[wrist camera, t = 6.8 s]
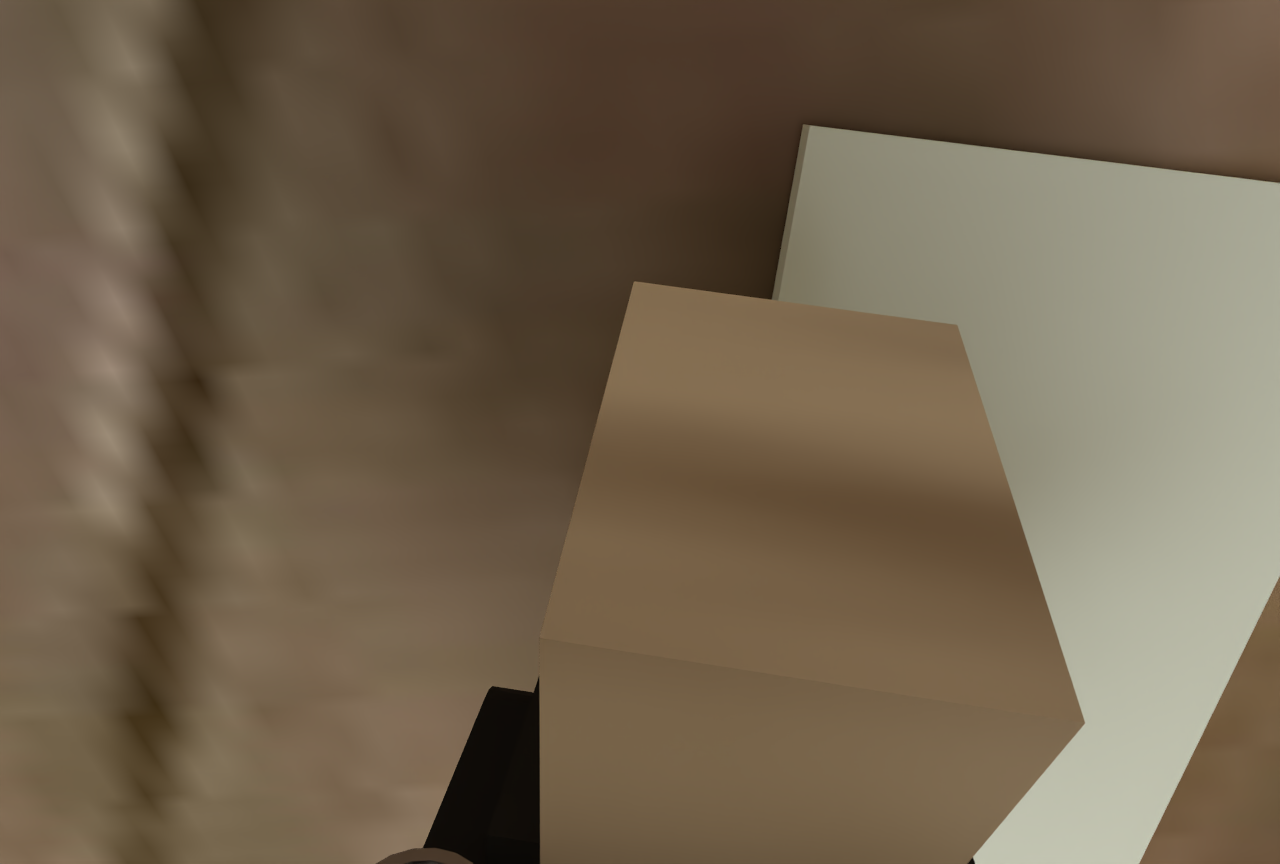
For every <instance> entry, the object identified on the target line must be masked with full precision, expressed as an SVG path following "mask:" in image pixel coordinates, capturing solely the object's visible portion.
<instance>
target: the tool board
mask: <svg viewBox="0 0 1280 864" xmlns="http://www.w3.org/2000/svg"><path fill="white" fill-rule="evenodd" d="M772 300H777V301H784V302H791V303H799V304H806V305H814V306H821V307H828V308H836V309H843V310H851V311H858V312H865V313H873V314H880V315H888V316H895V317H902V318H910V319H917V320H925V321H932V322H939V323H947V324H954V325H958V328H959V331H960V335H961V338H962V341H963V344H964V347H965V350H966V353H967V356H968V359H969V363H970V366H971V369H972V372H973V375H974V378H975V381H976V384H977V387H978V391H979V394H980V397H981V400H982V403H983V406H984V409H985V412H986V416H987V419H988V422H989V425H990V428H991V431H992V434H993V437H994V440H995V444H996V447H997V450H998V453H999V456H1000V459H1001V462H1002V465H1003V468H1004V472H1005V475H1006V478H1007V481H1008V484H1009V487H1010V490H1011V493H1012V496H1013V500H1014V503H1015V506H1016V509H1017V512H1018V515H1019V518H1020V521H1021V524H1022V528H1023V531H1024V534H1025V537H1026V540H1027V543H1028V546H1029V549H1030V552H1031V556H1032V559H1033V562H1034V565H1035V568H1036V571H1037V574H1038V577H1039V580H1040V584H1041V587H1042V590H1043V593H1044V596H1045V599H1046V602H1047V605H1048V608H1049V612H1050V615H1051V618H1052V621H1053V624H1054V627H1055V630H1056V633H1057V636H1058V640H1059V643H1060V646H1061V649H1062V652H1063V655H1064V658H1065V661H1066V664H1067V668H1068V671H1069V674H1070V677H1071V680H1072V683H1073V686H1074V689H1075V692H1076V696H1077V699H1078V702H1079V705H1080V708H1081V711H1082V714H1083V717H1084V720H1085V724H1084V725H1083V727H1082V728H1081V729H1080V730H1079V731H1078V732H1077V734H1076V735H1075V736H1074V737H1073V738H1072V740H1071V741H1070V742H1069V743H1068V744H1067V746H1066V747H1065V748H1064V749H1063V750H1062V752H1061V753H1060V754H1059V755H1058V756H1057V757H1056V759H1055V760H1054V761H1053V762H1052V763H1051V765H1050V766H1049V767H1048V768H1047V769H1046V771H1045V772H1044V773H1043V774H1042V775H1041V777H1040V778H1039V779H1038V780H1037V781H1036V783H1035V784H1034V785H1033V786H1032V787H1031V788H1030V790H1029V791H1028V792H1027V793H1026V794H1025V796H1024V797H1023V798H1022V799H1021V800H1020V802H1019V803H1018V804H1017V805H1016V806H1015V808H1014V809H1013V810H1012V811H1011V812H1010V813H1009V815H1008V816H1007V817H1006V818H1005V819H1004V821H1003V822H1002V823H1001V824H1000V825H999V827H998V828H997V829H996V830H995V831H994V833H993V834H992V835H991V836H990V837H989V838H988V840H987V841H986V842H985V843H984V844H983V846H982V847H981V848H980V849H979V850H978V852H977V853H976V854H975V855H974V856H973V859H974V861H975V864H1139V863H1140V860H1141V858H1142V856H1143V854H1144V852H1145V850H1146V848H1147V846H1148V844H1149V842H1150V840H1151V838H1152V836H1153V834H1154V832H1155V830H1156V828H1157V826H1158V824H1159V822H1160V820H1161V818H1162V816H1163V813H1164V811H1165V809H1166V807H1167V805H1168V803H1169V801H1170V799H1171V797H1172V795H1173V793H1174V791H1175V789H1176V787H1177V785H1178V783H1179V781H1180V779H1181V777H1182V775H1183V773H1184V771H1185V768H1186V766H1187V764H1188V762H1189V760H1190V758H1191V756H1192V754H1193V752H1194V750H1195V748H1196V746H1197V744H1198V742H1199V740H1200V738H1201V736H1202V734H1203V732H1204V730H1205V728H1206V726H1207V724H1208V721H1209V719H1210V717H1211V715H1212V713H1213V711H1214V709H1215V707H1216V705H1217V703H1218V701H1219V699H1220V697H1221V695H1222V693H1223V691H1224V689H1225V687H1226V685H1227V683H1228V681H1229V679H1230V676H1231V674H1232V672H1233V670H1234V668H1235V666H1236V664H1237V662H1238V660H1239V658H1240V656H1241V654H1242V652H1243V650H1244V648H1245V646H1246V644H1247V642H1248V640H1249V638H1250V636H1251V634H1252V631H1253V629H1254V627H1255V625H1256V623H1257V621H1258V619H1259V617H1260V615H1261V613H1262V611H1263V609H1264V607H1265V605H1266V603H1267V601H1268V599H1269V597H1270V595H1271V593H1272V591H1273V589H1274V587H1275V584H1276V582H1277V580H1278V578H1279V576H1280V183H1278V182H1270V181H1262V180H1254V179H1245V178H1237V177H1229V176H1221V175H1213V174H1205V173H1196V172H1188V171H1180V170H1172V169H1164V168H1156V167H1148V166H1139V165H1131V164H1123V163H1115V162H1107V161H1099V160H1090V159H1082V158H1074V157H1066V156H1058V155H1050V154H1042V153H1033V152H1025V151H1017V150H1009V149H1001V148H993V147H984V146H976V145H968V144H960V143H952V142H944V141H936V140H927V139H919V138H911V137H903V136H895V135H887V134H878V133H870V132H862V131H854V130H846V129H838V128H829V127H821V126H813V125H805V124H803V128H802V133H801V139H800V144H799V150H798V156H797V161H796V167H795V172H794V178H793V184H792V189H791V195H790V201H789V206H788V212H787V217H786V223H785V229H784V234H783V240H782V245H781V251H780V257H779V262H778V268H777V273H776V279H775V285H774V290H773V296H772Z"/></svg>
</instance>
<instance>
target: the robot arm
mask: <svg viewBox="0 0 1280 864" xmlns="http://www.w3.org/2000/svg"><path fill="white" fill-rule="evenodd" d="M376 864H540V693H539V678H538V681H537V684H536V687H535V690H534V693H532V692H526V691H520V690H513V689H507V688H501V687H494V686H492V687H491V688H490V689H489V691H488V693H487V695H486V697H485V699H484V701H483V704H482V706H481V709H480V711H479V714H478V716H477V718H476V721H475V723H474V726H473V728H472V731H471V733H470V735H469V738H468V740H467V743H466V745H465V747H464V750H463V752H462V755H461V757H460V760H459V762H458V764H457V767H456V769H455V772H454V774H453V777H452V779H451V781H450V784H449V786H448V789H447V791H446V794H445V796H444V798H443V801H442V803H441V806H440V808H439V811H438V813H437V815H436V818H435V820H434V823H433V825H432V828H431V830H430V832H429V835H428V837H427V840H426V842H425V844H424V847H423V848H415V849H410V850H407V851H403V852H400V853H396V854H393V855H390V856H388V857H387V858H385V859H383V860H381V861H380V862H378V863H376ZM967 864H975V861H974V859H973V858H972V859H971V860H970V861H969V862H968V863H967Z"/></svg>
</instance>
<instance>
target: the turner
mask: <svg viewBox="0 0 1280 864" xmlns="http://www.w3.org/2000/svg"><path fill="white" fill-rule="evenodd" d="M539 693H540V864H967V863H968V862H969V861H970V860H971V859H972V858H973V856H974V855H975V854H976V853H977V852H978V850H979V849H980V848H981V847H982V846H983V844H984V843H985V842H986V841H987V840H988V838H989V837H990V836H991V835H992V834H993V833H994V831H995V830H996V829H997V828H998V827H999V825H1000V824H1001V823H1002V822H1003V821H1004V819H1005V818H1006V817H1007V816H1008V815H1009V813H1010V812H1011V811H1012V810H1013V809H1014V808H1015V806H1016V805H1017V804H1018V803H1019V802H1020V800H1021V799H1022V798H1023V797H1024V796H1025V794H1026V793H1027V792H1028V791H1029V790H1030V788H1031V787H1032V786H1033V785H1034V784H1035V783H1036V781H1037V780H1038V779H1039V778H1040V777H1041V775H1042V774H1043V773H1044V772H1045V771H1046V769H1047V768H1048V767H1049V766H1050V765H1051V763H1052V762H1053V761H1054V760H1055V759H1056V757H1057V756H1058V755H1059V754H1060V753H1061V752H1062V750H1063V749H1064V748H1065V747H1066V746H1067V744H1068V743H1069V742H1070V741H1071V740H1072V738H1073V737H1074V736H1075V735H1076V734H1077V732H1078V731H1079V730H1080V729H1081V728H1082V727H1083V725H1084V724H1085V720H1084V717H1083V714H1082V711H1081V708H1080V705H1079V702H1078V699H1077V696H1076V692H1075V689H1074V686H1073V683H1072V680H1071V677H1070V674H1069V671H1068V668H1067V664H1066V661H1065V658H1064V655H1063V652H1062V649H1061V646H1060V643H1059V640H1058V636H1057V633H1056V630H1055V627H1054V624H1053V621H1052V618H1051V615H1050V612H1049V608H1048V605H1047V602H1046V599H1045V596H1044V593H1043V590H1042V587H1041V584H1040V580H1039V577H1038V574H1037V571H1036V568H1035V565H1034V562H1033V559H1032V556H1031V552H1030V549H1029V546H1028V543H1027V540H1026V537H1025V534H1024V531H1023V528H1022V524H1021V521H1020V518H1019V515H1018V512H1017V509H1016V506H1015V503H1014V500H1013V496H1012V493H1011V490H1010V487H1009V484H1008V481H1007V478H1006V475H1005V472H1004V468H1003V465H1002V462H1001V459H1000V456H999V453H998V450H997V447H996V444H995V440H994V437H993V434H992V431H991V428H990V425H989V422H988V419H987V416H986V412H985V409H984V406H983V403H982V400H981V397H980V394H979V391H978V387H977V384H976V381H975V378H974V375H973V372H972V369H971V366H970V363H969V359H968V356H967V353H966V350H965V347H964V344H963V341H962V338H961V335H960V331H959V328H958V325H954V324H947V323H939V322H932V321H925V320H917V319H910V318H902V317H895V316H888V315H880V314H873V313H865V312H858V311H851V310H843V309H836V308H828V307H821V306H814V305H806V304H799V303H791V302H784V301H777V300H769V299H762V298H754V297H747V296H740V295H732V294H725V293H717V292H710V291H703V290H695V289H688V288H680V287H673V286H666V285H658V284H651V283H643V282H636V281H634V283H633V287H632V291H631V294H630V298H629V302H628V306H627V310H626V313H625V317H624V321H623V325H622V328H621V332H620V336H619V340H618V343H617V347H616V351H615V355H614V358H613V362H612V366H611V370H610V374H609V377H608V381H607V385H606V389H605V392H604V396H603V400H602V404H601V407H600V411H599V415H598V419H597V423H596V426H595V430H594V434H593V438H592V441H591V445H590V449H589V453H588V456H587V460H586V464H585V468H584V471H583V475H582V479H581V483H580V487H579V490H578V494H577V498H576V502H575V505H574V509H573V513H572V517H571V520H570V524H569V528H568V532H567V535H566V539H565V543H564V547H563V551H562V554H561V558H560V562H559V566H558V569H557V573H556V577H555V581H554V584H553V588H552V592H551V596H550V599H549V603H548V607H547V611H546V615H545V618H544V622H543V626H542V630H541V633H540V637H539Z"/></svg>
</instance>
